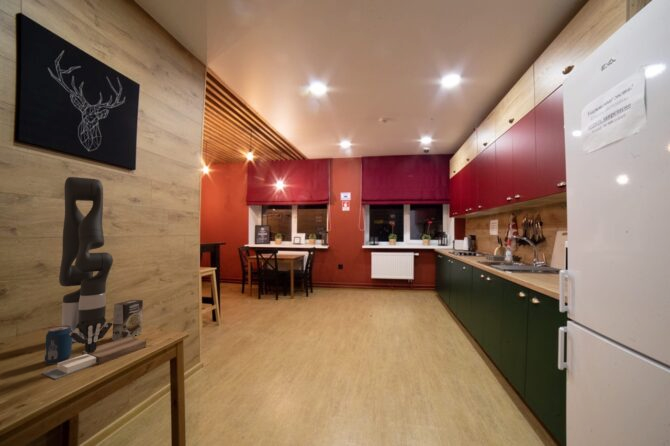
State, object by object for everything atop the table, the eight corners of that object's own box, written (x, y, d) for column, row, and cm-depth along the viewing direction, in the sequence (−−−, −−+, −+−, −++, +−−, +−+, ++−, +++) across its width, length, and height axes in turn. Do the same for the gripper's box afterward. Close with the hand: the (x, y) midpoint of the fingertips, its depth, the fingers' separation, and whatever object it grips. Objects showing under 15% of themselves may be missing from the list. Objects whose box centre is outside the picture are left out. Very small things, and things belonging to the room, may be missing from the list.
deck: (81, 357, 101) (81, 351, 101) (127, 342, 116) (127, 336, 116) (100, 364, 96) (100, 357, 96) (146, 347, 111) (146, 341, 111)
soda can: (69, 354, 104) (71, 323, 104) (72, 359, 99) (73, 327, 100) (43, 360, 98) (45, 328, 99) (45, 366, 94) (46, 333, 94)
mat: (41, 373, 90) (41, 372, 90) (84, 358, 100) (84, 358, 100) (55, 379, 86) (55, 378, 86) (97, 363, 97) (97, 362, 97)
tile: (57, 369, 92) (57, 363, 92) (86, 359, 99) (86, 353, 99) (67, 373, 89) (67, 367, 89) (96, 363, 97) (96, 357, 97)
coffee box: (123, 341, 116) (124, 304, 117) (111, 340, 118) (113, 303, 118) (142, 333, 125) (143, 299, 126) (131, 332, 127) (132, 298, 127)
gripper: (107, 300, 106) (105, 344, 106) (63, 309, 94) (61, 358, 94) (118, 302, 104) (116, 347, 103) (75, 311, 91) (72, 362, 91)
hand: (90, 352), depth 98 cm, fingers closed
